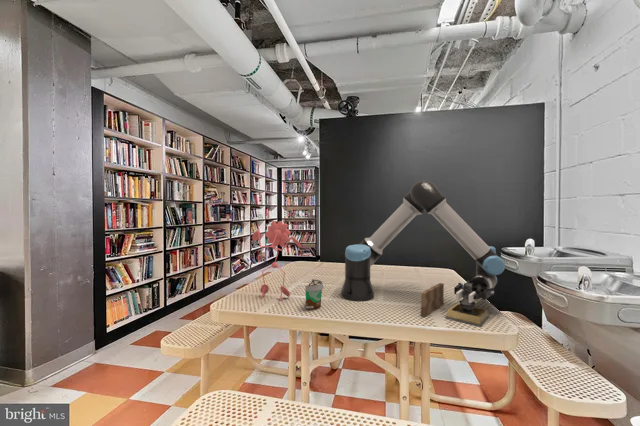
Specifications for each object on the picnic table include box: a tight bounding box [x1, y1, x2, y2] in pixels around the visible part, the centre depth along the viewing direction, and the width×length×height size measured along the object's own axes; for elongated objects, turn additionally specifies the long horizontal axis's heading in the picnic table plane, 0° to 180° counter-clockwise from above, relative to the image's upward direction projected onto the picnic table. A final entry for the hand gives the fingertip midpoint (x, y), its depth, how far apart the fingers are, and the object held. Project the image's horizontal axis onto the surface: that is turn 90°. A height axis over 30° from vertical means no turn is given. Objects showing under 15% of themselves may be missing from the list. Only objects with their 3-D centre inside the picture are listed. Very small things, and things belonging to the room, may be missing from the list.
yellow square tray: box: [445, 302, 490, 328], centre depth 110 cm, size 12×12×3 cm
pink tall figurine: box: [251, 220, 303, 303], centre depth 137 cm, size 15×26×35 cm, turn 71°
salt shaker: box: [458, 280, 477, 315], centre depth 110 cm, size 6×6×12 cm
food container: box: [304, 279, 324, 311], centre depth 121 cm, size 12×6×10 cm, turn 168°
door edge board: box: [420, 282, 445, 318], centre depth 119 cm, size 20×2×9 cm, turn 138°
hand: (463, 297), depth 106 cm, fingers closed on salt shaker, 4 cm apart
